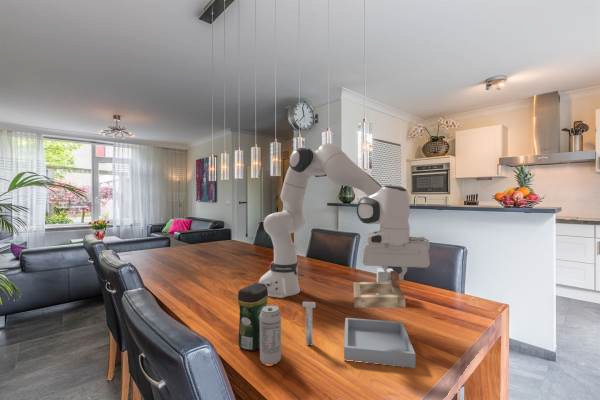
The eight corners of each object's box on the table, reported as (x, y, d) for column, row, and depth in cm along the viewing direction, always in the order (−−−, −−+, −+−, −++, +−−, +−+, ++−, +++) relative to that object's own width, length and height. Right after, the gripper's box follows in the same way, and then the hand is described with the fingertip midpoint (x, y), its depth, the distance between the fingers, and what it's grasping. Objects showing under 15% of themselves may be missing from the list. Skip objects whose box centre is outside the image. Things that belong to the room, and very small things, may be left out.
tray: (344, 361, 78) (344, 347, 78) (345, 329, 96) (345, 317, 96) (415, 368, 74) (415, 353, 74) (402, 333, 93) (402, 322, 93)
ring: (354, 307, 79) (352, 283, 79) (354, 291, 93) (352, 270, 93) (405, 307, 77) (403, 282, 77) (397, 290, 91) (395, 269, 91)
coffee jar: (252, 333, 93) (252, 279, 93) (272, 339, 90) (272, 282, 89) (233, 347, 85) (232, 287, 85) (254, 354, 81) (253, 292, 81)
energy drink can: (281, 354, 81) (281, 304, 81) (280, 367, 75) (280, 312, 75) (261, 355, 81) (260, 304, 81) (258, 367, 75) (258, 313, 75)
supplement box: (394, 301, 122) (395, 272, 122) (377, 299, 123) (377, 271, 123) (392, 295, 129) (392, 268, 129) (376, 294, 131) (376, 267, 130)
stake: (302, 345, 86) (302, 303, 86) (303, 342, 88) (303, 301, 88) (315, 346, 85) (315, 304, 85) (315, 343, 87) (315, 301, 87)
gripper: (426, 235, 88) (426, 278, 89) (361, 234, 92) (361, 275, 92) (432, 238, 82) (432, 284, 82) (362, 237, 86) (362, 281, 86)
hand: (394, 280), depth 87 cm, fingers closed on ring, 2 cm apart
